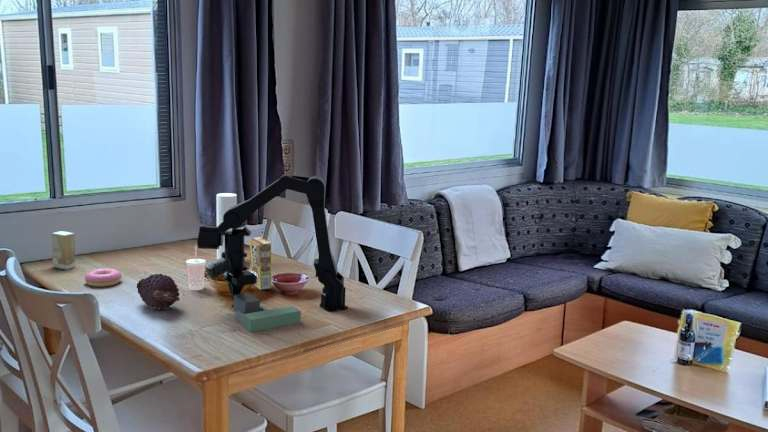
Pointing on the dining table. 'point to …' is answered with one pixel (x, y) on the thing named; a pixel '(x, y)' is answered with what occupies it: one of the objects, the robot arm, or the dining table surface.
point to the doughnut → (103, 277)
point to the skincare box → (63, 250)
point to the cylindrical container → (223, 205)
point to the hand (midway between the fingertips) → (234, 300)
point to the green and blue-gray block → (269, 318)
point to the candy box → (261, 261)
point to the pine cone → (158, 291)
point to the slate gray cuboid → (246, 303)
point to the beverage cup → (196, 272)
